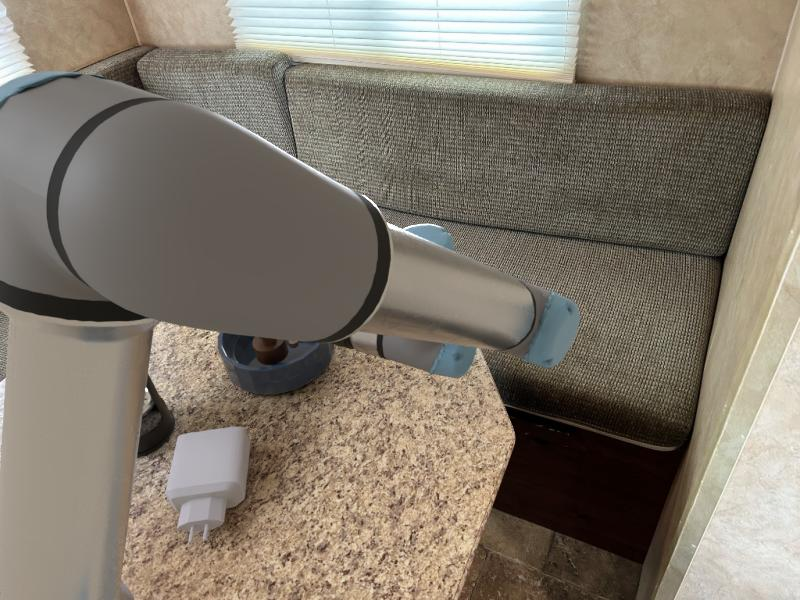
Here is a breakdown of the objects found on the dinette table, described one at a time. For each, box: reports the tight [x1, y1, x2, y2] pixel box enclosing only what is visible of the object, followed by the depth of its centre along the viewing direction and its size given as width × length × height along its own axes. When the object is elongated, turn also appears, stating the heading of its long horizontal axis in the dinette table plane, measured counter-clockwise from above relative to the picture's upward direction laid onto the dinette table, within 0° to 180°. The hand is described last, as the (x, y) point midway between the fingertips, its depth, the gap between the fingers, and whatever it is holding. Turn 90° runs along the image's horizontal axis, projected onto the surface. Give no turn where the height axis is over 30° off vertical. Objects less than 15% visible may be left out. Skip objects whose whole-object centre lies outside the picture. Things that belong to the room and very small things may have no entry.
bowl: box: [216, 332, 335, 395], centre depth 97 cm, size 17×17×6 cm
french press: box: [137, 373, 176, 458], centre depth 82 cm, size 12×9×23 cm
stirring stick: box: [252, 337, 289, 365], centre depth 88 cm, size 5×5×21 cm
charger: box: [164, 426, 252, 544], centre depth 78 cm, size 5×9×15 cm
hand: (224, 286), depth 90 cm, fingers closed on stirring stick, 3 cm apart
